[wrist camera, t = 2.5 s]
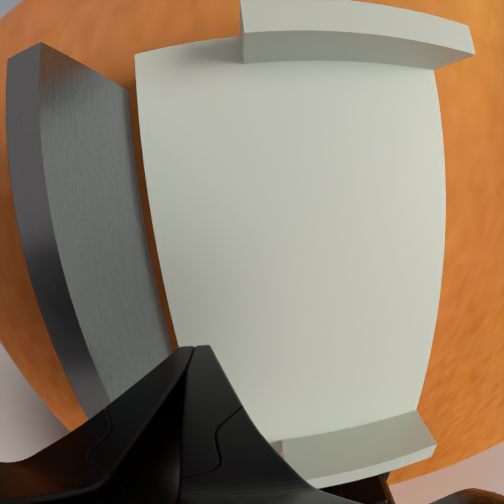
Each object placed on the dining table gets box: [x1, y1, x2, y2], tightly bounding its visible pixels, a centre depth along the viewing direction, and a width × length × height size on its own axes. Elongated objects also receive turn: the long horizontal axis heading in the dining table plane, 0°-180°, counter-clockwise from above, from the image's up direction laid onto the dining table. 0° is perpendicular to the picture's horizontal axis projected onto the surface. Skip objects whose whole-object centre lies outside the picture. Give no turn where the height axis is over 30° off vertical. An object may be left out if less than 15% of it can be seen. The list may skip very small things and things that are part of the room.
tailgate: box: [6, 42, 173, 419], centre depth 9 cm, size 17×1×6 cm, turn 6°
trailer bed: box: [135, 0, 476, 489], centre depth 12 cm, size 20×12×6 cm, turn 6°
